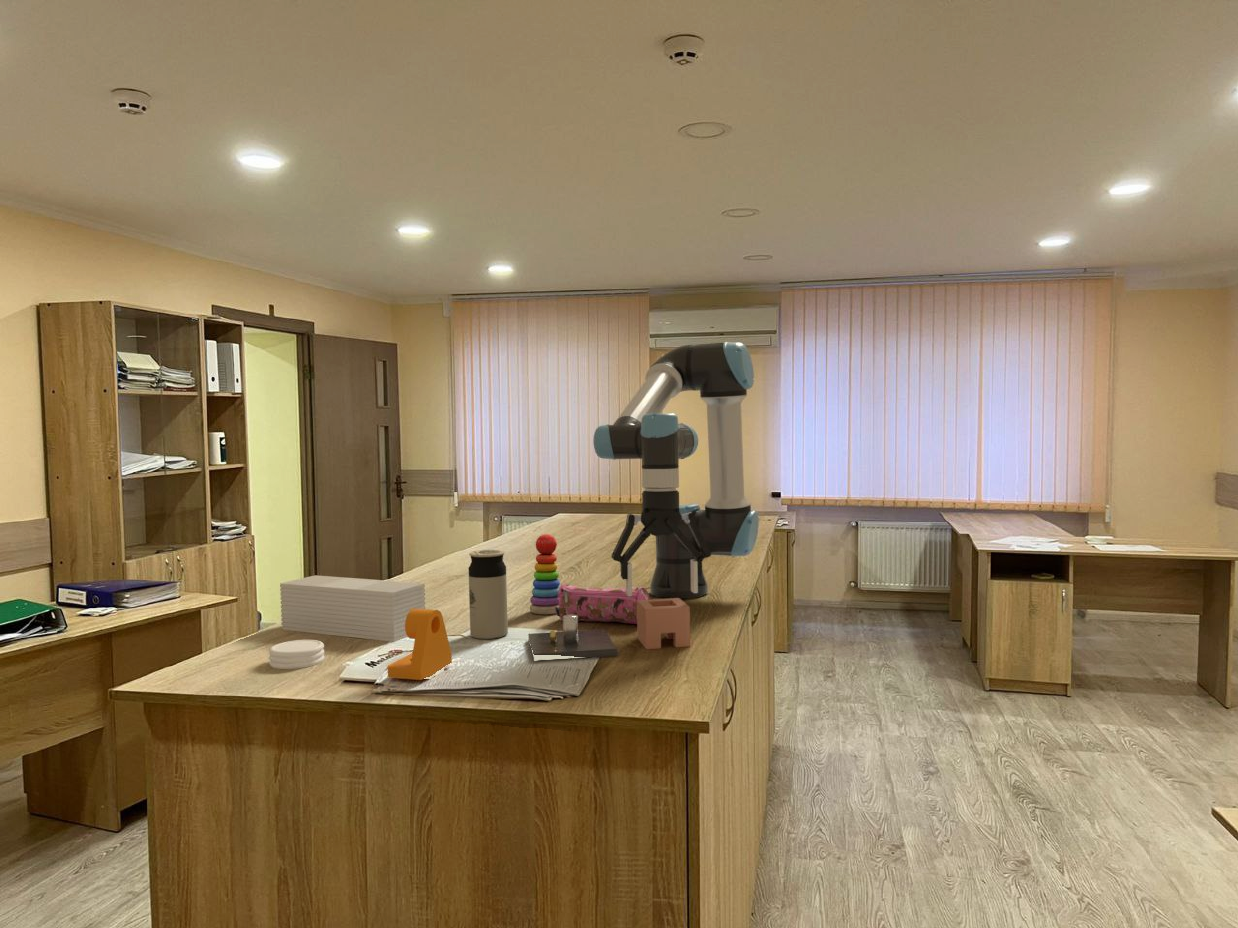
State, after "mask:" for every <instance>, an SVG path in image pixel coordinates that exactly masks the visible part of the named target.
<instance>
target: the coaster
mask: <svg viewBox="0 0 1238 928" xmlns="http://www.w3.org/2000/svg"><path fill="white" fill-rule="evenodd" d="M324 648H325V644H324V643H323V642H322V641H320V640H316V639H296V640H288V641H285V642H280V643H277V644H275V645H272V646H271V647H270V648H269V650H268V652H269V653H268V654H269V657H268V659H269V667H271V668H273V669H276V670H277V669H278V670H297V669H305V668H308V667H313V666H316V665H319V664H322V662H324V660H325V658H326V657H325V649H324Z"/></svg>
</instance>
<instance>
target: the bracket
mask: <svg viewBox="0 0 1238 928" xmlns="http://www.w3.org/2000/svg"><path fill="white" fill-rule="evenodd" d="M405 631H406V634H407V636H408V637H407V638H409V639H412V640H414V641H413V642H414V643H413V648H412V649H413V650H412V653H410V654H409V655H406V656H404V657H403V658H400V659H397V660H396V661H394V662H392V663H389V664H388V665H387V677H388V678H392V679H402V680H416V681H423V680H422V679H424V678H426V677H430V676H432V675H433V674H435V673H436V672H437V671H439V670H441V669H442V668H443V667H445V666H446V665H448V664H450V663H451V664H452V662H453V661H452V659H453V658H452V650H451V646H450V643H449V639H448V638H449V637H448V634H447V629H446V625H445V621H444V618H443V614H442V612H441V611H440V610H439V609H426V608H425V609H412V610H410V611H409V613H408V615H407V617H406V621H405ZM451 664H450V665H451ZM448 666H449V665H448ZM446 667H447V666H446ZM446 667H445V668H446Z"/></svg>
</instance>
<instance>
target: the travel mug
mask: <svg viewBox="0 0 1238 928" xmlns="http://www.w3.org/2000/svg"><path fill="white" fill-rule="evenodd" d="M504 555H505V551H504V550H501V549H481V550H480V549H479V550H474V551H470V552H469V556H470V560H471V562H470V565H469V567H468V593H469V594H468V597H469V626H470V627H469V628H470V629H469V630H470V631H469V632H470V633H469V634H470V636H471V637H472V638H474V639H478V640H494V639H500V638H503V637H504V636H506V635H508V633H509V627H508V625H509V624H508V594H507V593H508V592H507V591H508V589H507V587H508V586H507V585H508V584H507V565H506V564H505V562H504Z"/></svg>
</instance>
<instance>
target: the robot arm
mask: <svg viewBox="0 0 1238 928" xmlns="http://www.w3.org/2000/svg"><path fill="white" fill-rule="evenodd" d="M754 377H755V374H754V366H753V361H752V357H751V354H750V352H749V350H748V347H746V345H745V344H743V343H742V342H735V341H734V342H730V341H725V342H712V343H701V344H686V345H685V344H684V345H681V346H678V347H675V348H674V349H671V350H670V351H668V352H666V353H664V354H663V355H662V356H661V357H659V358H658V359H656V360H655V362H653V364H651V366H650V367H649V368H648V370H647V372H646V373H645V381H644V382H643V384H641V386H640V388H639V389H638V390H637V392H636V393H634V394H635V395H633V397H632V398H631V400H630V401H629V402H628V404H627V405H626V406H625V408H624V410H623V411H622V412H621V413H620V414H619V416H618V418H617V419H616V420H615V422H614V423H613V424H604V425H602V424H601V425H600V426H597V428H595V431H594V435H593V443H592V444H593V448H594V452H595V454H596V456H598V457H599V458H600V459H605V460H613V461H614V460H639V459H640V460H641V487H642V488H643V489H644V490H643V491H642V492H641V499H642V501H641V504H642V505H641V506H642V508H641V509H642V512H641V514H640V515H638V514H632V513H627V515H626V519H625V520H626V521H625V523H626V524H625V526H624V528H623V531H622V532H621V534H620V536H619V538H618V541H617V543H616V545H615V548H614V549H613V551H612V554H611V556H610V557H611V559H612V560H613V561H615V562H619V564H620V577H621V579H622V580H625V588H626V594H627V595H628V596H632V588H633V575H632V574H633V572H632V571H633V565H632V563H631V562H629V561H630V560H631V559H632V558H633V556H634V555H635V554H636V552H637V551H638V550H639V549H640V547H641V546H643V544H644V542H645V541H646V540H647V539H649V537H650V536H651V535H652V536H654V537H655V555H656V556H655V559H656V560H655V561H656V563H655V568H654V572H653V575H652V578H651V580H650V581H651V582H650V585H649V588H650V589H649V594H650V595H651V596H653V597H657V598H661V599H669V598H680V599H693V598H698V597H704V596H706V595H707V594H708V593H707V592H708V591H709V590H708V589H709V588H708V582H707V579H706V576H705V573H704V570H703V561H704V560H705V559H706V558H710V557H711V556H727V557H732V558H734V557H746V556H749V555H750V554H751V553H752V552H753V550H754V548H755V545H756V542H757V540H758V539H757V538H758V532H759V522H760V519H759V513H758V512H757V511H756V510H754V509H752V507H751V501H750V500H749V499H748V498H746V497H745V481H744V478H745V477H744V453H743V451H744V450H743V423H742V402H743V401H744V400H745V399H746V397H747V395H748V391H747V390H750V389H752V388H753V385H754V381H755V380H754V379H755V378H754ZM688 391H693V392H694V391H699V392H700V397H699V398H700V399H701V400H702V401H703V402H704V403H705V404H706V415H707V416H706V420H707V440H708V441H707V442H708V444H707V445H708V446H707V447H708V465H709V469H708V470H709V491H710V497H709V499H708V500H707V501H706V502H705V504H704V509H701V506H700V504H699V503H691V504H682V505H680V491H679V490H677V489H678V488H680V476H679V475H680V473H679V472H680V471H679V468H680V466H679V465H680V464H679V463H680V461H679V460H684V459H687V458H689V457H691V456H692V455H694V454H695V452H696V451H697V448H698V445H699V436H698V434H697V432H696V430H695V429H694V428H693V427H692V426H690V425H688V424H686V423H683V422H682V423H679V418H678V415H677V414H675V413H670V412H669V413H667V412H666V413H664V412H663V410H664V409H666V406H667V405H668V404H669V401H670V400H671V399H674V398H675V397H677V396H678V395H679V394H680V393H681V392H688ZM639 522H641V524H642V525H643V528H642V529H641V530H640V532H639V534H638V535H637V536H636V537H635V539H634V540H633V541H632V543H631V544H630V545H629V546H628V548H627V549H626V550H625V551H624V549H625V547H626V545H627V543H628V540H629V539H630V536H631V534H632V533H633V529H634V527H635V526H637V525H638V524H639ZM622 553H623V554H622ZM705 594H706V595H705ZM703 595H704V596H703Z"/></svg>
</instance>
